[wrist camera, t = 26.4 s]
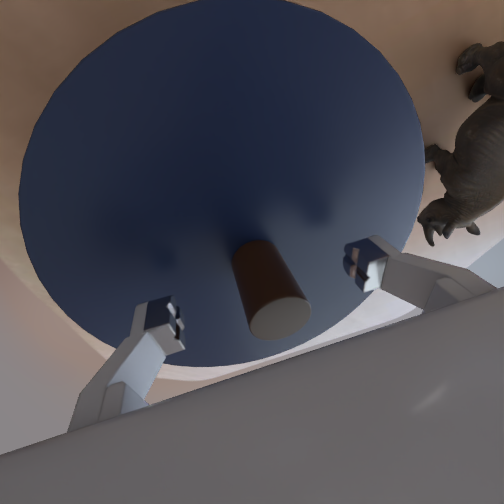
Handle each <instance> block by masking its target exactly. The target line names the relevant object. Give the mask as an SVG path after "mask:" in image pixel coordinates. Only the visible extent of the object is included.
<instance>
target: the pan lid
mask: <svg viewBox="0 0 504 504" xmlns="http://www.w3.org/2000/svg"><path fill="white" fill-rule="evenodd" d="M424 175H425V153H424V142H423V137H422V131H421V125H420V121H419V119H418V116H417V113H416V110H415V107H414V104H413V101H412V98H411V97H410V95H409V93H408V91H407V89H406V88H405V86H404V84H403V82H402V80H401V78H400V77H399V75H398V73H397V72H396V71H395V70H394V68H393V67H392V66H391V65H390V64H389V62H388V61H387V60H386V59H385V57H384V56H383V55H382V54H381V53H380V51H379V50H378V49H376V48H375V47H374V46H373V45H372V44H370V43H369V42H368V41H367V40H366V39H364V38H363V37H362V36H361V35H360V34H358V33H357V32H356V31H355V30H354V29H352V28H350V27H348V26H347V25H345V24H343V23H341V22H339V21H337V20H336V19H334V18H332V17H330V16H328V15H326V14H325V13H323V12H320V11H317V10H314V9H311V8H308V7H304V6H301V5H298V4H295V3H292V2H288V1H285V0H198V1H194V2H190V3H187V4H183V5H180V6H176V7H173V8H169V9H166V10H162V11H159V12H156V13H154V14H152V15H150V16H148V17H146V18H144V19H142V20H140V21H138V22H136V23H134V24H132V25H130V26H128V27H126V28H125V29H123V30H121V31H119V32H117V33H116V34H114V35H113V36H112V37H110V38H109V39H108V40H106V41H105V42H104V43H103V44H101V45H100V46H99V47H97V48H96V49H95V50H94V51H92V52H91V53H90V54H88V55H87V56H86V57H85V58H83V59H82V60H81V61H80V62H79V64H78V65H77V66H76V67H75V68H74V69H73V70H72V72H71V73H70V74H69V75H68V76H67V77H66V78H65V80H64V81H63V82H62V83H61V84H60V85H59V86H58V88H57V89H56V90H55V91H54V93H53V94H52V96H51V98H50V100H49V101H48V103H47V105H46V107H45V108H44V110H43V112H42V114H41V115H40V117H39V119H38V120H37V122H36V124H35V126H34V129H33V132H32V135H31V138H30V141H29V144H28V146H27V149H26V152H25V155H24V158H23V163H22V171H21V178H20V186H19V193H18V195H19V211H20V226H21V230H22V234H23V238H24V242H25V246H26V250H27V254H28V256H29V258H30V260H31V263H32V265H33V267H34V269H35V272H36V274H37V276H38V278H39V280H40V281H41V283H42V284H43V286H44V287H45V289H46V290H47V292H48V293H49V295H50V296H51V298H52V299H53V300H54V301H55V302H56V303H57V305H58V306H59V307H60V308H61V309H62V310H63V311H64V312H65V313H66V315H67V316H68V317H70V318H71V319H72V320H73V321H74V322H76V323H77V324H78V325H79V326H80V327H81V328H83V329H84V330H85V331H87V332H88V333H90V334H91V335H93V336H94V337H96V338H97V339H99V340H101V341H102V342H104V343H106V344H108V345H110V346H112V347H114V348H116V349H117V348H118V347H119V345H120V344H121V343H122V342H123V341H124V339H125V338H127V337H129V336H130V331H131V326H132V322H133V317H134V312H135V307H136V306H137V305H138V304H141V303H145V302H149V301H152V300H155V299H159V298H163V297H166V296H170V295H173V296H174V297H175V299H176V306H179V307H180V308H181V310H182V312H183V315H184V320H185V328H184V330H183V333H184V335H185V349H184V350H182V351H179V352H176V353H173V354H170V355H167V356H166V358H165V360H164V362H163V363H164V364H170V365H177V366H189V367H215V366H228V365H234V364H241V363H246V362H251V361H255V360H260V359H263V358H266V357H270V356H273V355H276V354H279V353H281V352H284V351H287V350H289V349H292V348H294V347H296V346H298V345H301V344H303V343H305V342H307V341H309V340H311V339H312V338H314V337H316V336H318V335H320V334H321V333H323V332H325V331H326V330H328V329H329V328H331V327H332V326H334V325H335V324H337V323H338V322H339V321H341V320H342V319H343V318H345V317H346V316H347V315H349V314H350V313H351V312H352V311H353V310H354V309H356V308H357V307H358V306H359V305H360V304H361V303H362V302H363V301H364V300H365V299H366V298H367V297H368V296H369V295H370V294H371V293H372V292H373V291H374V290H371V291H368V292H364V293H363V292H362V290H361V289H360V288H359V287H358V286H357V285H356V284H355V279H354V278H352V277H349V276H348V274H347V273H346V272H345V270H344V267H343V258H344V256H345V255H346V253H345V252H344V246H345V244H347V243H351V242H354V241H357V240H360V239H364V238H367V237H370V236H373V235H378V236H380V237H381V238H382V239H384V240H385V241H386V242H388V243H389V244H390V245H392V246H393V247H394V248H396V249H397V250H398V251H400V252H402V250H403V248H404V246H405V244H406V242H407V240H408V238H409V235H410V233H411V231H412V228H413V225H414V223H415V220H416V217H417V214H418V211H419V206H420V202H421V197H422V193H423V185H424Z"/></svg>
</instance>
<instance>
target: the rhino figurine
mask: <svg viewBox="0 0 504 504" xmlns="http://www.w3.org/2000/svg"><path fill="white" fill-rule="evenodd" d="M479 65H480V66H481V67H482V69H483V71H484V74H482V75H481V76H480V77H479V78H478V79H477V80H476V82H475V83H474V85H473V87H472V90H471V92H470V94H469V96H468V98H469V99H470V100H472V101H473V102H478V101H480V100H481V99H482V98H483V97H484V96H485V95H487V94H488V95H491V97H490V98H489V99H488V100H487V101H486V102H485V103H484V104H482V105H481V106H480V107H479V108H478V109H477V110H476V111H475V112H474V113H472V114H471V115H470V116H469V117H468V118H467V119H466V120H465V121H464V123H463V124H462V125H461V127H460V128H459V130H458V132H457V135H456V139H455V150H454V152H453V153H450V152H449V151H447V150H442V149H440V148H439V147H438V145H436V144H434V145H431V146H429V147H427V148H425V149H424V153H425V163H428V162H430V161H435V163H436V166H435V169H436V170H437V171H438V173H439V174H440V175H441V177H440V180H441V182H442V183H443V185H444V187H445V188H446V190H447V191H446V193H445V194H444V198H440V199H437V200H434V201H432V202H431V203H430V204H429V205H428V206H427V207H426V208H425V209H423V211H422V212H421V213H420V214H419V216H418V217H417V219H418V220H417V221H418V222H419V223H421V225H422V227H423V230H424V234H425V237H426V240H427V242H428V243H429V245H430V246H434V242H433V234H434V231H436V232H437V233H438V234H439V236H441V235H442V233H443V235H444V237H445V238H446V239H448V238H449V236H450V235H451V233H452V232H453V231H454V229H455V228H464V227H466V229H467V231H468V232H469V233H471V234H474V235H480V230H479V228H478V227H477V226H476V224H475V223H474V221H475V220H476V219H477V218H479V217H480V216H482V215H484V214H486V213H488V212H489V211H491V210H492V209H493V208H495V207H496V206H497V205H499V204H500V203H501V202H502V201H503V200H504V42H497V43H496V44H494V45H492V46H489V47H483V46H482V44H481V43H476V44H473V45H472V46H470V47H469V48H468V49H467V50H465V51H464V52H463V54H462V55H461V56H460V58H459V60H458V67H457V69H456V73H457V74H458V75H461V74H463V73H466V72H470V71H472V70H474V69H475V68H476V67H477V66H479Z"/></svg>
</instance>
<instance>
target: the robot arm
mask: <svg viewBox="0 0 504 504" xmlns="http://www.w3.org/2000/svg"><path fill="white" fill-rule="evenodd" d="M344 252H345V253H346V255H345V256H344V258H343V267H344V270H345V272H346V273H347V274H348V276H349V277H352V278H354V279H355V284H356V285H357V286H358V287H359V288H360V289H361V290H362V292H363V293H364V292H368V291H371V290H375V289H378V288H381V289H382V290H384V291H386V292H388V293H390V294H392V295H395V296H397V297H399V298H401V299H403V300H405V301H407V302H409V303H411V304H413V305H415V306H417V307H419V308H421V309H423V311H422V314H420V315H417V316H414V317H411V318H408V319H405V320H402V321H399V322H397V323H393V324H390V325H388V326H385V327H381V328H378V329H376V330H372V331H370V332H366V333H363V334H361V335H358V336H355V337H352V338H349V339H346V340H343V341H340V342H337V343H334V344H331V345H328V346H325V347H322V348H319V349H316V350H313V351H310V352H307V353H304V354H301V355H298V356H295V357H292V358H289V359H286V360H283V361H280V362H277V363H274V364H271V365H268V366H265V367H262V368H259V369H256V370H253V371H250V372H247V373H244V374H241V375H238V376H235V377H232V378H229V379H226V380H223V381H220V382H217V383H214V384H211V385H208V386H205V387H202V388H199V389H196V390H193V391H190V392H187V393H184V394H181V395H179V396H175V397H172V398H169V399H166V400H163V401H161V402H157V403H154V404H151V405H149V404H148V403H147V402H146V401H145V400H144V399H145V397H146V395H147V393H148V391H149V389H150V387H151V385H152V383H153V381H154V379H155V377H156V375H157V374H158V372H159V370H160V368H161V366H162V364H163V362H164V360H165V358H166V356H167V355H170V354H173V353H176V352H179V351H182V350H184V349H185V335H184V333H183V330H184V328H185V320H184V315H183V312H182V310H181V308H180V307H179V306H176V299H175V297H174V296H173V295H170V296H166V297H163V298H159V299H155V300H152V301H149V302H145V303H141V304H138V305H137V306H136V307H135V312H134V317H133V322H132V326H131V331H130V336H129V337H127V338H125V339H124V341H123V342H122V343H121V344H120V345H119V347H118V348H117V349H116V350H115V351H114V353H113V354H112V355H111V356H110V358H109V359H108V360H107V361H106V362H105V364H104V365H103V366H102V367H101V368H100V370H99V371H98V372H97V373H96V375H95V376H94V377H93V378H92V380H91V381H90V382H89V383H88V384H87V385H86V387H85V388H84V389H83V390H82V392H81V393H80V394H79V397H78V400H77V404H76V406H75V409H74V413H73V416H72V419H71V422H70V425H69V428H68V431H67V433H65V434H61V435H58V436H55V437H52V438H50V439H46V440H44V441H41V442H37V443H35V444H32V445H29V446H26V447H23V448H20V449H17V450H14V451H11V452H8V453H5V454H2V455H0V504H504V287H501V288H496V287H494V286H493V285H491V284H490V283H488V282H487V281H485V280H483V279H482V278H480V277H479V276H478V275H476V274H474V273H473V272H471V271H470V270H468V269H465V268H461V267H457V266H454V265H450V264H446V263H442V262H439V261H435V260H431V259H427V258H424V257H420V256H416V255H412V254H409V253H401V252H400V251H398V250H397V249H396V248H394V247H393V246H392V245H390V244H389V243H388V242H386V241H385V240H384V239H382V238H381V237H380V236H378V235H373V236H370V237H367V238H364V239H360V240H357V241H354V242H351V243H347V244H345V246H344Z"/></svg>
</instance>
